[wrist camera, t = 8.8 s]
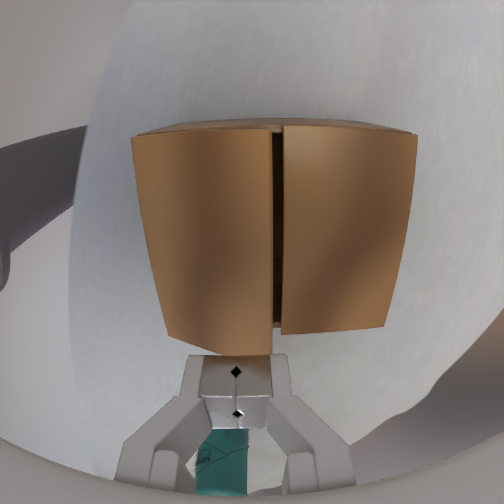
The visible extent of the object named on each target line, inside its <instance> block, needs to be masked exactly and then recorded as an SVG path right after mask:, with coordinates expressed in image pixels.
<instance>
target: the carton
mask: <svg viewBox="0 0 504 504" xmlns="http://www.w3.org/2000/svg"><path fill="white" fill-rule="evenodd" d="M232 129H271V130H272V180H273V328H281V335H291V334H309V333H323V332H336V331H348V330H358V329H368V328H377V327H384V324H385V321H386V317H387V314H388V310H389V307H390V303H391V299H392V295H393V291H394V287H395V283H396V279H397V275H398V271H399V266H400V262H401V257H402V252H403V247H404V242H405V237H406V231H407V225H408V220H409V213H410V207H411V200H412V192H413V184H414V176H415V166H416V154H417V141H418V135H415V134H412V133H411V132H407V131H403V130H398V129H394V128H389V127H384V126H380V125H374V124H369V123H364V122H358V121H347V120H331V119H306V118H257V119H232V120H216V121H203V122H192V123H182V124H176V125H172V126H168V127H164V128H160V129H156V130H152V131H149V132H145V133H142V134H138V135H137V136H143V135H153V134H163V133H174V132H188V131H205V130H232Z"/></svg>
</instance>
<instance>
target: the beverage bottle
mask: <svg viewBox="0 0 504 504" xmlns="http://www.w3.org/2000/svg"><path fill="white" fill-rule="evenodd" d="M248 443H249V437H248V429H246V428H234V429H212V431H211V433H210V434H209V435H208V437H207V438H206V439H205V440H204V442H203V443H202V444H201V446H200V447H199V448H198V455H197V458H196V459H197V460H196V461H197V462H196V461H195V462H196V463H195V465H196V472H195V471H194V472H195V473H196V475H195V481H196V491H195V494H199V495H214V496H247V452H248V448H249V447H248ZM196 453H197V452H196Z"/></svg>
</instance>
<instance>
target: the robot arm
mask: <svg viewBox="0 0 504 504" xmlns="http://www.w3.org/2000/svg"><path fill="white" fill-rule="evenodd" d="M234 428H246V429H262V428H267V430H268V432H269V433H270V435H271V436H272V437H273V438H274V440H275V441H276V442H277V444H278V445H279V446H280V448H281V449H282V450H283V452H284V453H285V454H286V455H287V461H286V466H285V471H284V476H283V481H282V488H283V495H277V496H214V495H199V494H195V491H196V481H195V480H194V478H193V477H192V475H191V474H190V472H189V471H188V469H187V468H186V466H185V464H186V463H187V462H188V461H189V459H190V458H191V457H192V456H193V454H194V453H195V452H196V451H197V449H198V448H199V447H200V446H201V444H202V443H203V442H204V440H205V439H206V438H207V437H208V435H209V434H210V433H211V431H212V429H234ZM0 504H504V431H502V432H500V433H498V434H497V435H495V436H493V437H491V438H489V439H488V440H485V441H484V442H481V443H479V444H477V445H475V446H473V447H471V448H469V449H467V450H464V451H462V452H460V453H457V454H455V455H453V456H450V457H448V458H445V459H443V460H441V461H438V462H435V463H433V464H430V465H427V466H424V467H421V468H418V469H415V470H412V471H409V472H406V473H402V474H399V475H396V476H392V477H388V478H385V479H381V480H377V481H373V482H369V483H364V484H360V485H356V480H355V475H354V470H353V465H352V460H351V455H350V451H349V446H348V444H347V443H346V442H345V441H344V440H343V439H342V438H341V437H339V436H338V435H337V434H336V433H335V432H334V431H333V430H332V429H331V428H330V427H329V426H328V425H327V424H326V423H325V422H324V421H323V420H322V419H321V418H319V417H318V416H317V415H316V414H315V413H314V412H313V411H312V410H311V409H310V408H309V407H308V406H307V405H306V404H305V403H304V402H303V401H302V400H301V399H300V398H299V397H298V396H292V389H291V381H290V373H289V365H288V357H287V355H286V354H270V356H269V354H265V355H238V356H215V355H189V356H188V358H187V360H186V365H185V370H184V375H183V380H182V385H181V390H180V395H179V396H174V397H173V398H172V399H171V400H170V401H169V402H168V403H167V404H166V405H165V406H163V407H162V408H161V409H160V410H159V411H158V412H157V413H156V414H155V415H154V416H153V417H151V418H150V419H149V420H148V421H147V422H146V423H145V424H144V425H143V426H142V427H140V428H139V429H138V430H137V431H136V432H135V433H134V434H133V435H131V436H130V437H129V438H128V439H127V440H126V441H125V442H124V444H123V447H122V451H121V455H120V459H119V462H118V466H117V470H116V474H115V478H114V480H110V479H106V478H102V477H99V476H95V475H92V474H89V473H85V472H82V471H79V470H76V469H73V468H70V467H67V466H64V465H62V464H59V463H56V462H54V461H51V460H48V459H46V458H43V457H41V456H39V455H36V454H34V453H32V452H29V451H27V450H25V449H23V448H21V447H19V446H17V445H15V444H12V443H10V442H8V441H7V440H5V439H3V438H0Z"/></svg>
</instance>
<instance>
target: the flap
mask: <svg viewBox="0 0 504 504" xmlns="http://www.w3.org/2000/svg"><path fill="white" fill-rule="evenodd" d="M131 145H132V154H133V162H134V170H135V177H136V184H137V191H138V198H139V204H140V210H141V216H142V221H143V227H144V232H145V238H146V243H147V248H148V253H149V258H150V262H151V267H152V272H153V276H154V280H155V285H156V289H157V293H158V297H159V301H160V305H161V309H162V313H163V317H164V321H165V325H166V328H167V332H168V335H169V336H170V337H173V338H176V339H178V340H181V341H184V342H186V343H189V344H192V345H195V346H198V347H200V348H203V349H206V350H209V351H212V352H215V353H218V354H221V355H224V356H238V355H265V354H269V356H270V354H272V336H273V180H272V130H271V129H232V130H205V131H188V132H174V133H163V134H153V135H143V136H135V137H131Z"/></svg>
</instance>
